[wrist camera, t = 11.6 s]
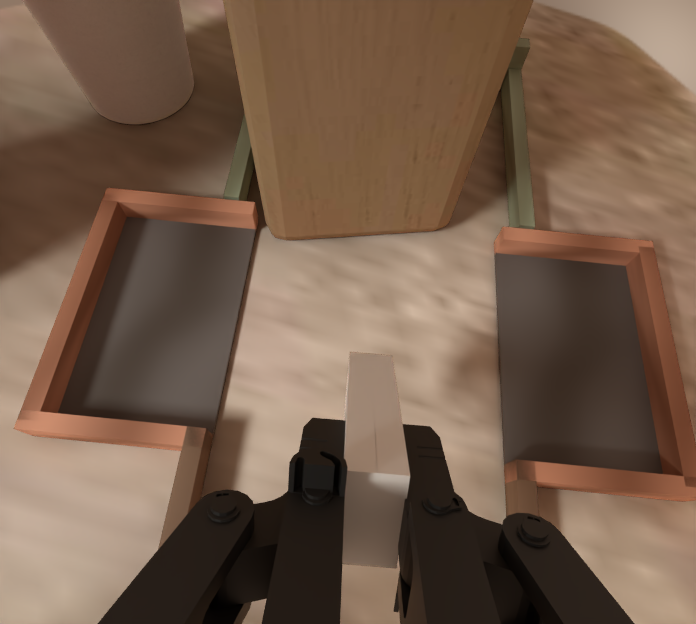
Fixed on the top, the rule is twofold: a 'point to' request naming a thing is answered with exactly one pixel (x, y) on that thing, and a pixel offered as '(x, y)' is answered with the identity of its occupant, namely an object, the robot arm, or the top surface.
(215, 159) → the top surface
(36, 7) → the coffee cup
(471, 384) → the top surface
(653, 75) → the top surface
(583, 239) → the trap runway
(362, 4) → the wooden block
